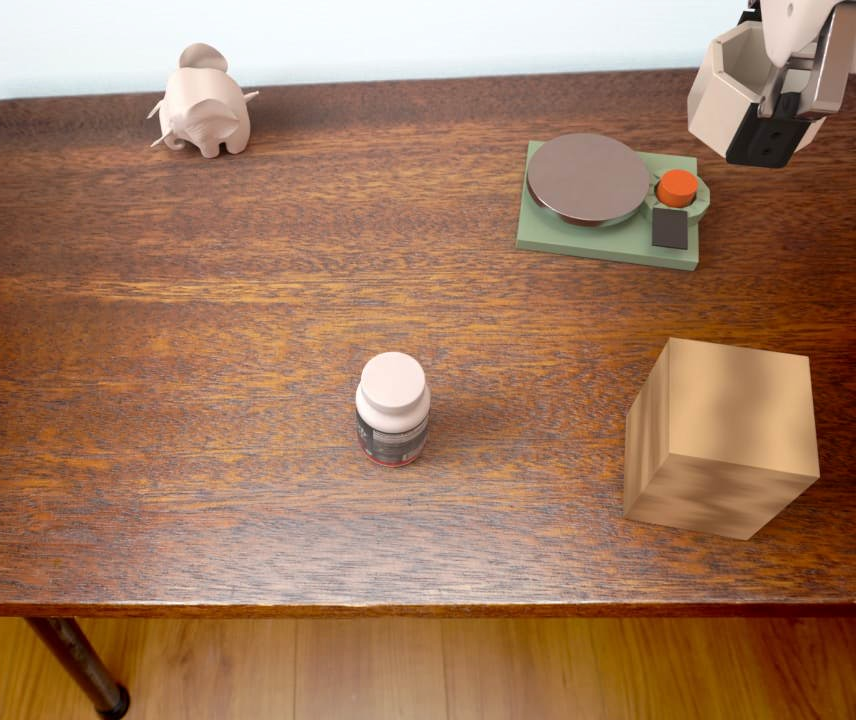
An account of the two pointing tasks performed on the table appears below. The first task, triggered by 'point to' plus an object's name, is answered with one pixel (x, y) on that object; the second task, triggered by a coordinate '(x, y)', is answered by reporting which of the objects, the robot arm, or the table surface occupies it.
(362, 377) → the pill bottle
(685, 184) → the tare button
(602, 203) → the scale pan
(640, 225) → the scale
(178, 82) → the elephant figurine
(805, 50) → the bowl
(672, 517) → the stand
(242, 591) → the table surface
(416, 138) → the table surface
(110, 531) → the table surface
